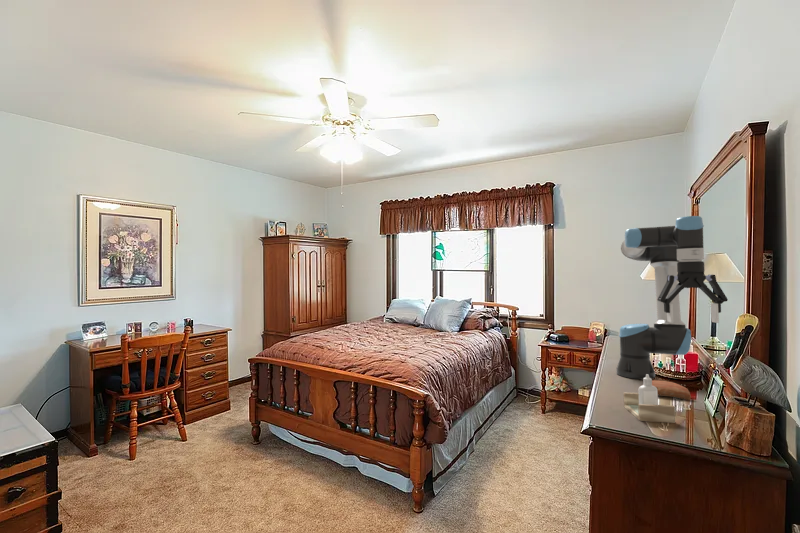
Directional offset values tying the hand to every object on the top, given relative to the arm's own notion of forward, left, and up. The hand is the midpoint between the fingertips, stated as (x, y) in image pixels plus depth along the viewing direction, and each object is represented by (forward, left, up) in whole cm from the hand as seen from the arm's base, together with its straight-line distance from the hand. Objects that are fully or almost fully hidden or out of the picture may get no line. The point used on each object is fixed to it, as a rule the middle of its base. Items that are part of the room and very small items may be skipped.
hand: (692, 322), depth 131 cm
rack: (+7, -18, -30) cm, 36 cm away
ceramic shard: (-18, -2, -30) cm, 35 cm away
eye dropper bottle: (+7, -18, -29) cm, 35 cm away
